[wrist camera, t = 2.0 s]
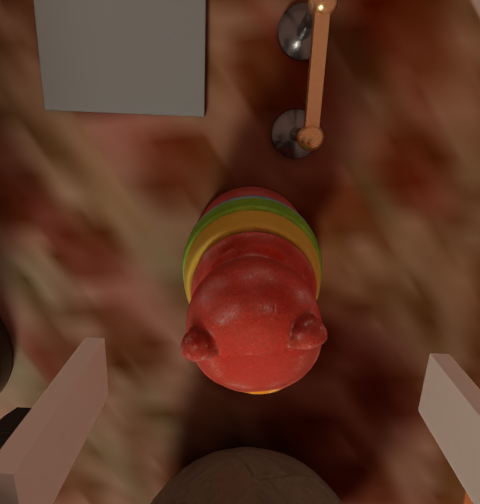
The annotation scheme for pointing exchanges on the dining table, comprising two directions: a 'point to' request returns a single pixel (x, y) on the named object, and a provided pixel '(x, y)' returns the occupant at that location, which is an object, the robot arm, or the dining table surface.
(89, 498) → the dining table surface
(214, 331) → the stacking bear
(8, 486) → the robot arm
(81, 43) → the mat
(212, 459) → the bowl
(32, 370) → the dining table surface
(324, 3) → the miniature post railing
